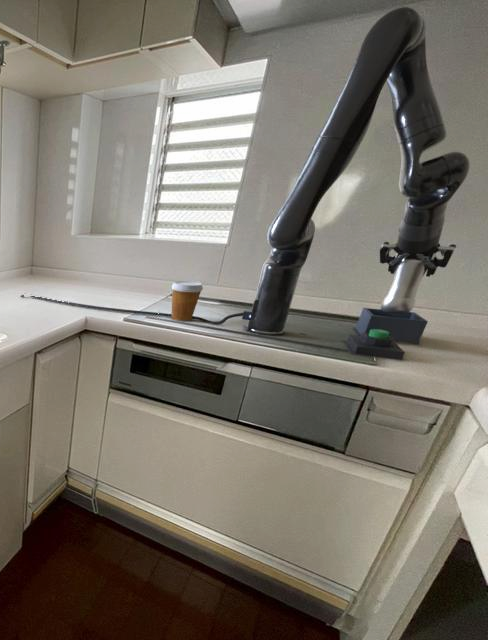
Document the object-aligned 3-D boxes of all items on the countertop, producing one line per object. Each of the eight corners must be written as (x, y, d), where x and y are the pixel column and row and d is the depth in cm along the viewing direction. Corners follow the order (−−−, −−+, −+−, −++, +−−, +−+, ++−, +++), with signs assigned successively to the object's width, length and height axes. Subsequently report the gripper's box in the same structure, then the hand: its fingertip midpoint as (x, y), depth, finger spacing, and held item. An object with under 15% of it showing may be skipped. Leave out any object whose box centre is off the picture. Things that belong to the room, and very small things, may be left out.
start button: (369, 338, 104) (372, 331, 103) (366, 334, 107) (369, 328, 106) (388, 340, 102) (390, 333, 102) (384, 336, 105) (387, 330, 104)
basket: (363, 338, 116) (371, 315, 114) (355, 328, 125) (363, 307, 123) (418, 344, 111) (428, 321, 108) (405, 334, 120) (415, 312, 117)
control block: (354, 354, 103) (359, 339, 102) (346, 342, 113) (351, 328, 111) (401, 360, 99) (407, 345, 98) (389, 347, 108) (394, 333, 107)
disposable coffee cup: (166, 320, 135) (173, 284, 130) (165, 314, 143) (171, 280, 138) (198, 323, 132) (205, 286, 127) (195, 316, 140) (202, 281, 135)
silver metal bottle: (377, 310, 119) (403, 239, 112) (409, 313, 115) (437, 240, 108) (379, 314, 115) (405, 240, 107) (412, 317, 111) (442, 241, 103)
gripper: (469, 217, 96) (453, 264, 107) (388, 217, 106) (381, 260, 118) (456, 242, 95) (442, 286, 106) (376, 239, 105) (371, 280, 117)
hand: (410, 272), depth 112 cm, fingers closed on silver metal bottle, 6 cm apart
